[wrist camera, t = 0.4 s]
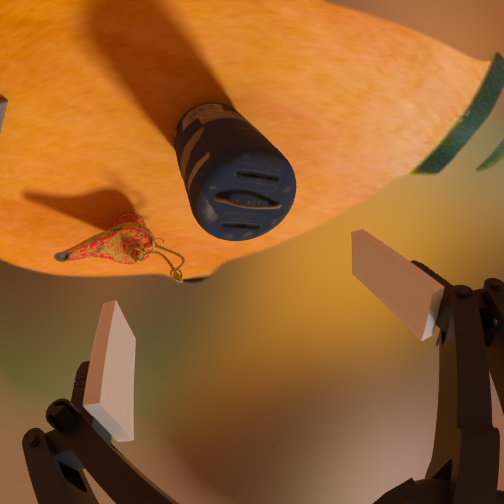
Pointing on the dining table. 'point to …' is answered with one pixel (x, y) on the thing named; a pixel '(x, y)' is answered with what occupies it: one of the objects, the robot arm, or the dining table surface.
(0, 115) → the grey pegged base
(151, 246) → the magic lamp
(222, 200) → the canister
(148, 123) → the dining table surface
